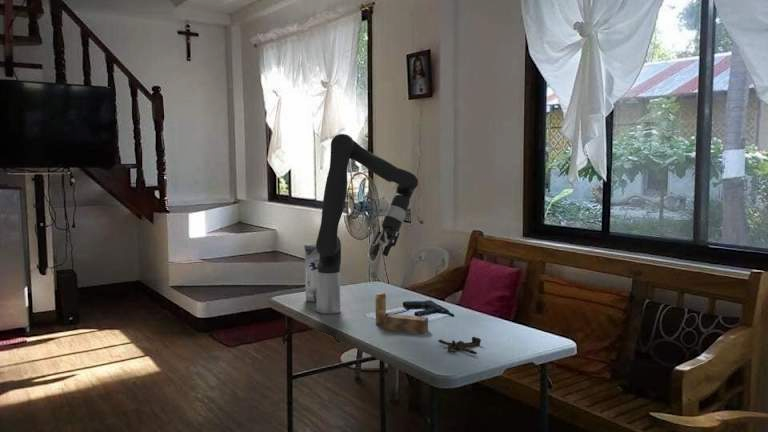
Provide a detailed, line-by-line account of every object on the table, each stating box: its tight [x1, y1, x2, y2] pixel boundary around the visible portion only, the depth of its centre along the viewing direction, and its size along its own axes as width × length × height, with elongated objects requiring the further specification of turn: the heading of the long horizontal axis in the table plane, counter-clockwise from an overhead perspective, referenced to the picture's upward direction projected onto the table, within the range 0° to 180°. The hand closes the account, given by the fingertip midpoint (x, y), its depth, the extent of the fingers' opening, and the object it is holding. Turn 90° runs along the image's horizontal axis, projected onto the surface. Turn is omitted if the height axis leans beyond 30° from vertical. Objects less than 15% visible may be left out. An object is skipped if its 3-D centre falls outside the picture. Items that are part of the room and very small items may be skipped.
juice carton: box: [304, 243, 320, 303], centre depth 281 cm, size 9×10×27 cm
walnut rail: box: [383, 312, 429, 335], centre depth 232 cm, size 16×5×5 cm, turn 67°
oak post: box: [375, 292, 387, 326], centre depth 240 cm, size 4×4×12 cm
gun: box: [402, 300, 455, 317], centre depth 261 cm, size 24×3×15 cm
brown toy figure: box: [437, 336, 482, 355], centre depth 210 cm, size 18×4×14 cm
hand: (379, 255), depth 246 cm, fingers open, 8 cm apart
